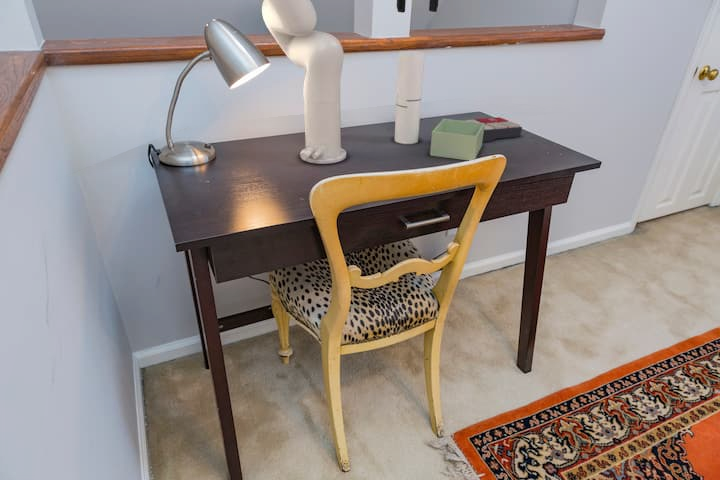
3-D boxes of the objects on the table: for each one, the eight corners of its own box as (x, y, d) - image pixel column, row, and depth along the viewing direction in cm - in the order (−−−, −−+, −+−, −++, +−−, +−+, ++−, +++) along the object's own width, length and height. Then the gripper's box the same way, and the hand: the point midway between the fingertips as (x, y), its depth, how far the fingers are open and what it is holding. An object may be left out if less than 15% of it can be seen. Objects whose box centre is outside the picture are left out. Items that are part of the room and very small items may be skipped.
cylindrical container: (419, 144, 144) (425, 55, 132) (394, 143, 144) (399, 54, 132) (417, 136, 150) (423, 51, 138) (393, 136, 150) (398, 50, 138)
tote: (473, 161, 132) (477, 136, 128) (429, 155, 135) (432, 131, 132) (481, 145, 143) (484, 123, 140) (441, 140, 147) (443, 118, 144)
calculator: (523, 124, 150) (484, 127, 144) (520, 138, 152) (482, 142, 146) (499, 116, 159) (462, 118, 152) (497, 129, 161) (460, 132, 154)
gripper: (397, -65, 116) (394, 13, 125) (459, -63, 122) (452, 12, 131) (384, -64, 122) (382, 11, 131) (443, -62, 128) (437, 10, 137)
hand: (417, 11), depth 131 cm, fingers open, 9 cm apart
